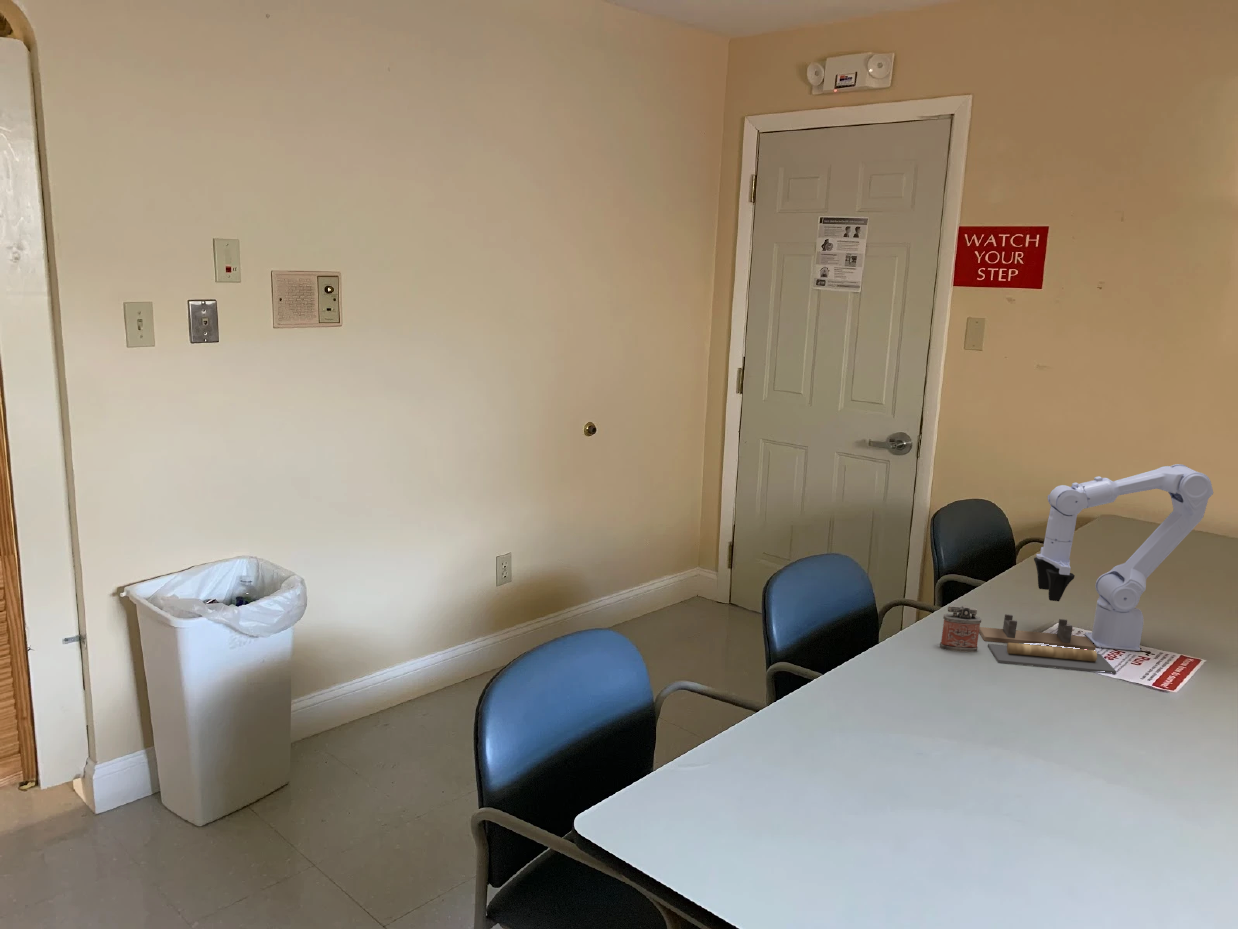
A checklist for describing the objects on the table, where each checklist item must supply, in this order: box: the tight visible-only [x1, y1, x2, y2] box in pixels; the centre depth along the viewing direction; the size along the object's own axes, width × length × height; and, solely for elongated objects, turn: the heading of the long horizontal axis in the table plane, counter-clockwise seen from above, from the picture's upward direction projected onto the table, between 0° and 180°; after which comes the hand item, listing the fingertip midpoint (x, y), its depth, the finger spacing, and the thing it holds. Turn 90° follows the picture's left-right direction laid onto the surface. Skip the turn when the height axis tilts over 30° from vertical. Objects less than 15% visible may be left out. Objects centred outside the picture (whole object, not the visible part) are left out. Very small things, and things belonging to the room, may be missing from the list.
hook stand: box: [979, 614, 1097, 651], centre depth 208 cm, size 24×6×5 cm, turn 82°
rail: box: [1006, 643, 1098, 662], centre depth 198 cm, size 18×2×2 cm, turn 82°
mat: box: [987, 643, 1117, 674], centre depth 198 cm, size 24×9×1 cm, turn 82°
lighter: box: [939, 604, 982, 653], centre depth 201 cm, size 8×3×10 cm, turn 84°
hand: (1048, 594), depth 209 cm, fingers open, 7 cm apart
